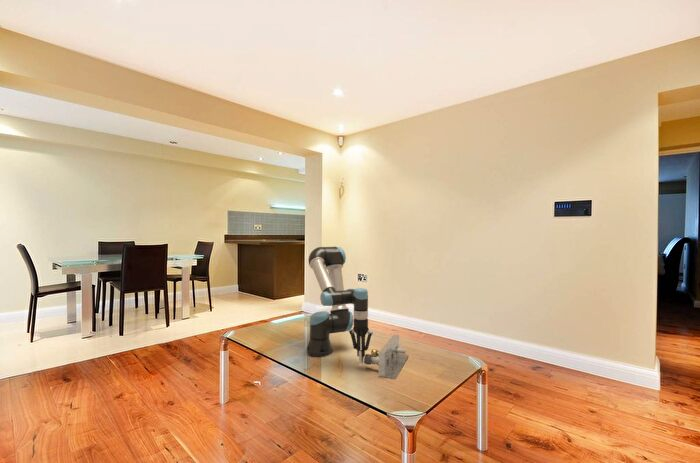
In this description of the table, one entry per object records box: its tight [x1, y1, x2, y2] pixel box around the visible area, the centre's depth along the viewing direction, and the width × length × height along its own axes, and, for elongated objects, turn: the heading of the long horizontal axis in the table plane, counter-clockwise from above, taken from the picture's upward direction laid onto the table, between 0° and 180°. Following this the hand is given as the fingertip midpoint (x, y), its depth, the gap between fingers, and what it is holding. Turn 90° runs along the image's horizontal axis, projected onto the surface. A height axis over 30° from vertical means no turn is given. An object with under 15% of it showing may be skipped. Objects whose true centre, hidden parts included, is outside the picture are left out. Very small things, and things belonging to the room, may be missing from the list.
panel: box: [378, 333, 409, 380], centre depth 169 cm, size 8×30×12 cm, turn 157°
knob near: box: [363, 353, 379, 366], centre depth 164 cm, size 11×5×5 cm, turn 67°
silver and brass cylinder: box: [370, 348, 380, 358], centre depth 172 cm, size 11×4×4 cm, turn 67°
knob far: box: [396, 347, 407, 355], centre depth 178 cm, size 11×5×5 cm, turn 67°
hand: (361, 362), depth 167 cm, fingers closed
